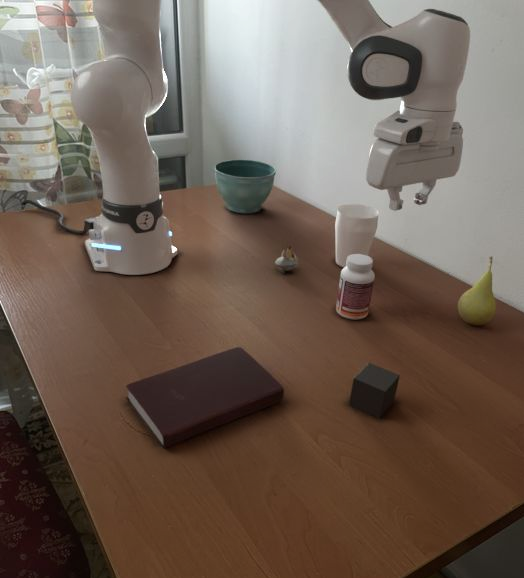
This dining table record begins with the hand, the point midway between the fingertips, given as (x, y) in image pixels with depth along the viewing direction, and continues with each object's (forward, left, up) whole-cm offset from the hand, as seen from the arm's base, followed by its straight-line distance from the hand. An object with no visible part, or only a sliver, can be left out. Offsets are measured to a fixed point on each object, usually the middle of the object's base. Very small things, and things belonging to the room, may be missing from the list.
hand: (407, 206), depth 98 cm
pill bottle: (0, -10, -19) cm, 22 cm away
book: (+9, -47, -19) cm, 52 cm away
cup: (-17, +5, -19) cm, 26 cm away
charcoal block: (+22, -26, -19) cm, 39 cm away
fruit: (+14, +8, -19) cm, 25 cm away
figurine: (-21, -10, -19) cm, 30 cm away
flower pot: (-58, +3, -19) cm, 61 cm away
